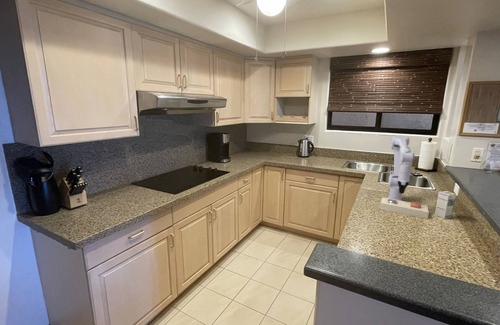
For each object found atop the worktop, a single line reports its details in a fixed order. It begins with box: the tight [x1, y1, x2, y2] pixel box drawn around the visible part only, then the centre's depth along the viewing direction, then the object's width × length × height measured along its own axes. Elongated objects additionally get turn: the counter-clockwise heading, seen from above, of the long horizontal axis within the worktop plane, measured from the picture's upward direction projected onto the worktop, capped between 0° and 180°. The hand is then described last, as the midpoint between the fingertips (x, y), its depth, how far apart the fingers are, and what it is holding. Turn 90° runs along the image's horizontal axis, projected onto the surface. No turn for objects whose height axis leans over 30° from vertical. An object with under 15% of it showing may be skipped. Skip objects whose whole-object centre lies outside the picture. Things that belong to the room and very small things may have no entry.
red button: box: [411, 202, 422, 208], centre depth 145 cm, size 5×5×5 cm
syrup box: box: [434, 190, 457, 219], centre depth 140 cm, size 6×6×14 cm
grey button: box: [388, 199, 397, 204], centre depth 152 cm, size 5×5×5 cm
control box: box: [379, 197, 430, 220], centre depth 149 cm, size 12×24×4 cm, turn 58°
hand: (401, 193), depth 151 cm, fingers closed
